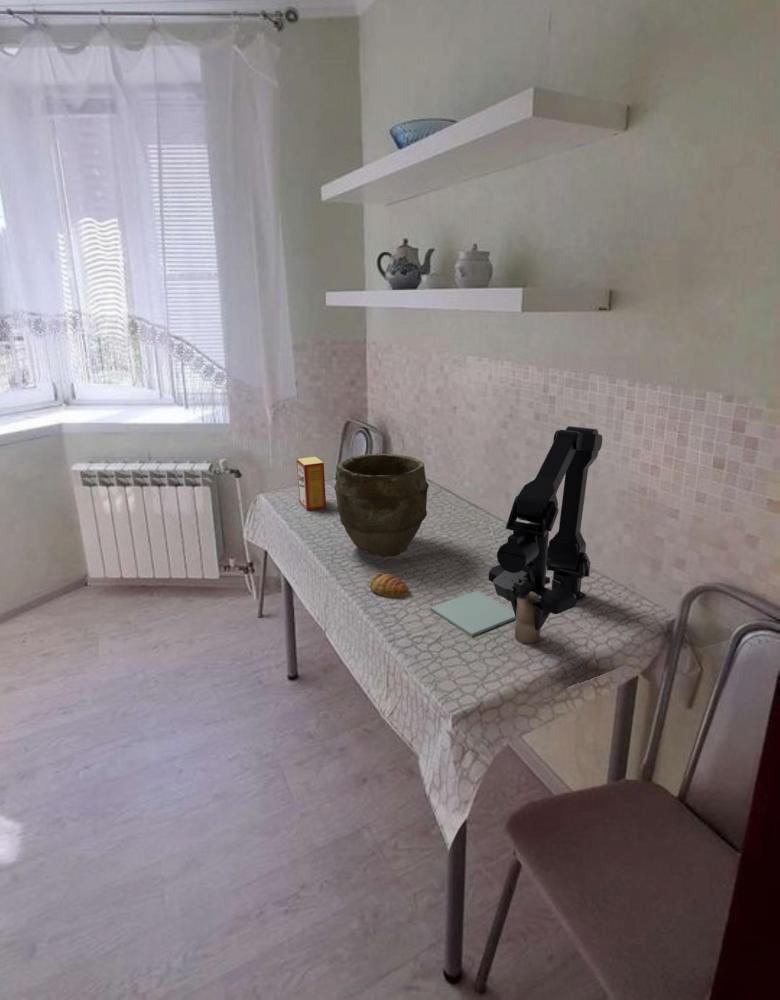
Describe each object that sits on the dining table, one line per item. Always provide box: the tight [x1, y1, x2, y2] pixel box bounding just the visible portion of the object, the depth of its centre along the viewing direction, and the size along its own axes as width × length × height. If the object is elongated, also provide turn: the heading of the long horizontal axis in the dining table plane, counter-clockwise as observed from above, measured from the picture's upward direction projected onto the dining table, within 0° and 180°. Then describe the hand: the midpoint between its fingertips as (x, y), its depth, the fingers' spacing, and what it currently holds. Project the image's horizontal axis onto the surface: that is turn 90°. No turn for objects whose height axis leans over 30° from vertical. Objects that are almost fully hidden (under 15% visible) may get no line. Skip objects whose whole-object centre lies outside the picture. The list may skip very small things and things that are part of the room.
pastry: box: [369, 572, 410, 599], centre depth 147 cm, size 9×7×4 cm
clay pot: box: [333, 452, 430, 558], centre depth 169 cm, size 25×25×25 cm
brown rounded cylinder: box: [514, 592, 541, 645], centre depth 125 cm, size 5×5×9 cm
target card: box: [429, 590, 516, 637], centre depth 137 cm, size 14×14×1 cm
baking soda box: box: [296, 455, 327, 512], centre depth 206 cm, size 10×6×16 cm
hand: (528, 624), depth 126 cm, fingers closed on brown rounded cylinder, 5 cm apart
